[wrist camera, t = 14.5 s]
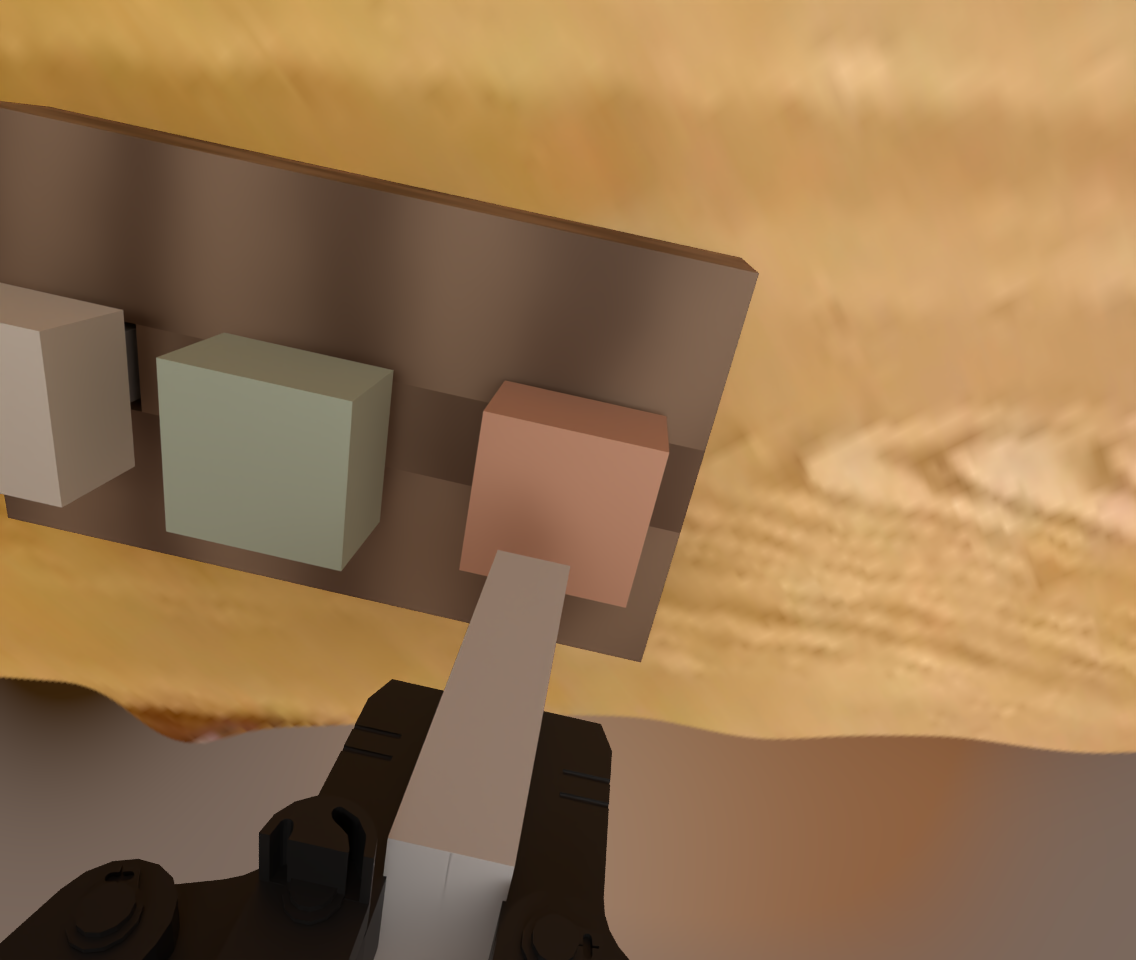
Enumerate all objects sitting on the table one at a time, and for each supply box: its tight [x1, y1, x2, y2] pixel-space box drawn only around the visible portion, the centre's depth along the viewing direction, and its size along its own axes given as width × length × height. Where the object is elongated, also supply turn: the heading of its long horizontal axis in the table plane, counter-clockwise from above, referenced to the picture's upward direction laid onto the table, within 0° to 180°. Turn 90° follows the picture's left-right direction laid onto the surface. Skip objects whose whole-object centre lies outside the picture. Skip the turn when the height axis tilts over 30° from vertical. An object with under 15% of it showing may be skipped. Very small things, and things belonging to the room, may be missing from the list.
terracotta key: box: [459, 380, 669, 608], centre depth 22 cm, size 5×5×6 cm
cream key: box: [0, 283, 141, 508], centre depth 21 cm, size 5×5×6 cm
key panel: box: [0, 101, 759, 662], centre depth 24 cm, size 24×14×4 cm, turn 79°
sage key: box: [156, 333, 394, 571], centre depth 21 cm, size 5×5×6 cm
